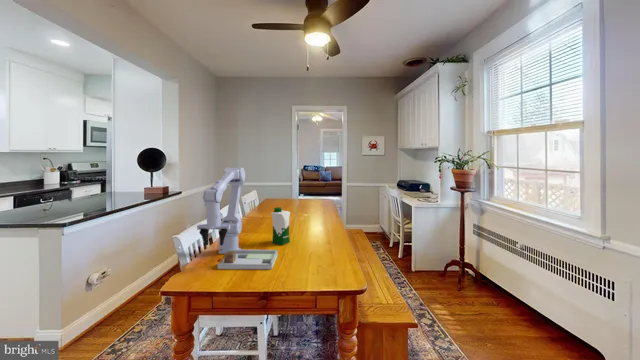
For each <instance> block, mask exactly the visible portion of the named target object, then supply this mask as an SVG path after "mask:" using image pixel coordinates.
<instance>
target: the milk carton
mask: <svg viewBox="0 0 640 360" xmlns="http://www.w3.org/2000/svg"><path fill="white" fill-rule="evenodd" d="M273 210H274V211H271V212H270V213H271V214H270V215H271V218H272V219H271V220H272V242H271V243H272V244H274V245H278V246H284V245H287V244H289V243H291V242H290V216H291V211H288V210H283V209H282V207H280V206H279V207H278V206H277V207H274V209H273Z"/></svg>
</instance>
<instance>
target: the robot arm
mask: <svg viewBox="0 0 640 360" xmlns="http://www.w3.org/2000/svg"><path fill="white" fill-rule="evenodd" d="M245 180H246V171H245V168H244V167H225V168H224V170H223V175H222V177H221V179H218V180H216V181H215V182H214V183H213V184H212V186H211V187H210V188H208V189H206V190H204V192H203V196H202V199H203V203H204V206H205V207H206V210H205V211H206V223H205V224H204V223H203V224H197V225H196V230H198V231H199V234H200V235H201V237H202V240H203V242H204V245H205V246H208V245H209V232H210V230H219V231H218V234H219V237H218V254H221V255H222V254H223V255H224V254H225V253H226V252H227V251H229V250H242V247H239V235H240V233H241V232H242V230H243V229H242V228H243V226H242V223H243V222H242V221H243V220H242V219H241V218H240V217H239V216H238V210H239V204H240V198H241V191H242V186H243V185H245ZM228 185H230V187H231V188H230V194H229V202H228V206H227V208H228V209H227V213H226V216H225V217H222V218H221V211H220V207H221V206H220V205H221V204H220V202H221V201H222V198H223V196H224V194H223V193H224V192H225V191H226V190H227V189H228Z"/></svg>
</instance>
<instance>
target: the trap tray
mask: <svg viewBox="0 0 640 360" xmlns="http://www.w3.org/2000/svg"><path fill="white" fill-rule="evenodd" d="M229 251H236V260H235V261H234V263H224V258H223V259H222V260H221V261H220V262H219V263H218V264H217V269H218V270H272V269H273V267H274V264H275V263H276V259H277V258H278V249H240V250H229Z"/></svg>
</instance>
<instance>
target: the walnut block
mask: <svg viewBox="0 0 640 360" xmlns="http://www.w3.org/2000/svg"><path fill="white" fill-rule="evenodd" d="M223 259H224V263H234V261H235V260H236V251H227V252H226V253H225V254H223Z"/></svg>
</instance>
